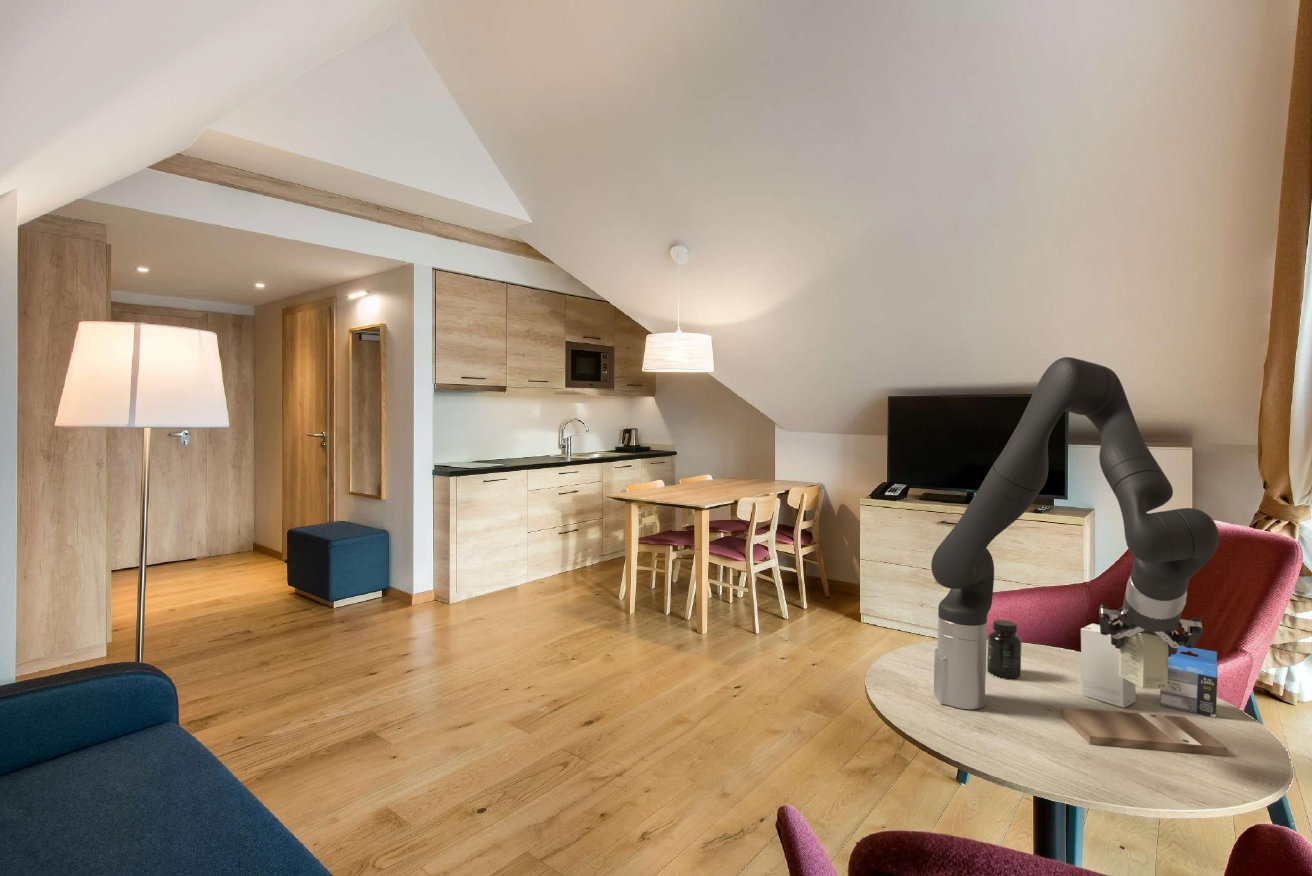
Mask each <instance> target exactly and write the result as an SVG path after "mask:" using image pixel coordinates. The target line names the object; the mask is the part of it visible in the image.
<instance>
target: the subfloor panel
mask: <svg viewBox="0 0 1312 876" xmlns="http://www.w3.org/2000/svg"><path fill="white" fill-rule="evenodd" d="M1060 716H1062V718H1063V719H1064V720H1065V721H1066V722H1067V723H1069V725H1070V726H1071V727H1072V728H1073V730H1075V731H1076V732H1077V733H1078V734H1079V735H1080V736H1081V737H1082V738H1083V739H1084V740H1085V741H1086V743H1088V744H1089V745H1095V746H1108V747H1119V748H1131V749H1140V750H1142V749H1143V750H1153V751H1165V752H1175V753H1176V752H1177V753H1187V754H1199V755H1200V754H1201V755H1209V754H1212V755H1211V756H1220V755H1227V756H1228V747H1227V746H1226V745H1224V744H1223V743H1222V742H1220V741H1218V739H1216V738H1215V737H1213V736H1212V735H1210V734H1209V733H1208V732H1206V731H1205V730H1203V729H1202V728H1201V727H1200V726H1198V725H1196V724H1195V723H1194V722H1193V721H1192V720H1190V719H1188V718H1187V717H1185V716H1178V715H1167V714H1166V715H1165V714H1160V713H1146V712H1130V711H1129V712H1128V711H1117V710H1116V711H1113V710H1101V709H1093V708H1092V709H1090V708H1089V709H1088V708H1080V707H1079V708H1077V707H1076V708H1075V707H1067V706H1066V707H1063V706H1060Z"/></svg>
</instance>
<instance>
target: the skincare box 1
mask: <svg viewBox="0 0 1312 876" xmlns="http://www.w3.org/2000/svg"><path fill="white" fill-rule="evenodd" d="M1080 650H1081V651H1080V654H1081V657H1080V658H1081V659H1080V660H1081V662H1080V663H1081V695H1082V696H1084V697H1087V698H1091V699H1094V700H1097V701H1099V702H1104V703H1106V704H1110V705H1113V706H1117V707H1120V708H1126V707H1128V706H1131V705H1132V704H1135V702H1136V699H1137V698H1136V694H1137V693H1136V692H1137V691H1136V689H1137V688H1136V685H1135V684H1134V683H1132V682H1130V681H1128V680H1126V679H1124V678H1123V677H1121V676H1119V655H1120V649H1118V648H1115V645H1112V644H1111V635H1110V634H1109V635H1102V634H1101V633H1100V624H1096V623H1090V624H1088V625H1086V626H1084V627H1082V628H1080Z"/></svg>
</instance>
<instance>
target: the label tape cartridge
mask: <svg viewBox="0 0 1312 876" xmlns="http://www.w3.org/2000/svg"><path fill="white" fill-rule="evenodd" d="M1181 652H1183V653H1181ZM1188 652H1190V653H1191V654H1193V655H1194V654H1195V655H1198V656H1193V655H1187V654H1184V653H1188ZM1159 690H1160V693H1159V695H1160V697H1159V699H1160V702H1159V703H1160V706H1163V707H1167V708H1171V709H1172V708H1173V709H1175V710H1176V709H1177V710H1181V711H1185V712H1190V713H1194V714H1198V715H1203V716H1206V715H1207V716H1206V717H1210V716H1211V718H1214V717H1216V718H1217V701H1218V700H1217V699H1218V652H1217V651H1214V650H1208V649H1201V648H1196V647H1194V648H1186V647H1185V646H1180V647H1179V648H1178V650H1177V653H1176V654H1175V655H1172V654H1171V657H1168V687H1167V689H1159Z"/></svg>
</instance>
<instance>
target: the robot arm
mask: <svg viewBox="0 0 1312 876" xmlns="http://www.w3.org/2000/svg"><path fill="white" fill-rule="evenodd" d="M1131 408H1132V407H1131V406H1130V403H1129V401H1128V398H1127V394H1126V392H1125V389H1124V387H1123V384H1122V382H1121V380H1120V378H1119V377H1118V375H1117V374H1116V372H1115V371H1114V370H1112V369H1111V368H1109V367H1107V366H1104V365H1101V364H1097V363H1094V362H1091V361H1086V360H1083V359H1079V358H1075V357H1069V356H1065V357H1064V356H1063V357H1061V358H1059V359H1057V360H1055V361H1054V362H1052V363H1051V364H1050V365H1049V366H1048V368H1046V370H1045V371H1044V372H1043V374H1042V375H1041V378H1040V379H1039V380H1038V383H1037V385H1036V387H1035V389H1034V391H1033V393H1032V395H1031V397H1030V399H1029V401H1028V404H1027V406H1026V408H1025V410H1024V412H1023V414H1022V416H1021V418H1020V419H1019V421H1018V424H1017V425H1016V427H1015V429H1014V430H1013V433H1012V434H1011V436H1010V437H1009V439H1008V441H1007V443H1006V445H1005V446H1004V448H1003V450H1002V451H1001V453H1000V454H999V456H998V457H997V459H996V460H995V461H994V463H993V464H992V466H991V468H990V469H989V470H988V472H987V474H986V476H985V477H984V479H983V481H982V483H981V484H980V486H979V488H978V490H977V491H976V493H975V494H974V495H973V497H972V498H971V499H972V500H971V501H970V503H969V504H968V505H967V507H966V509H965V511H964V512H963V514H962V515H961V517H960V518H959V520H958V521H957V523H956V524H955V525H954V526H953V528H952V529H951V531H949V533H948V535H947V536H946V537H945V538H944V539H943V540H942V542H941V543H940V544H939V545H938V546H937V548H936V549H935V551H934V553H933V556H932V559H931V563H930V564H931V565H930V567H931V573H932V575H933V578H934V580H935V581H936V583H937V584H938V585H940V586H942V587H945V588H948V589H950V590H949V591H948V593H947V594H946V596H945V597H944V598H943V599H942V600H940V602H939V604H938V612H937V613H938V614H937V617H938V618H937V620H938V621H937V648H935V649H934V666H933V667H934V669H933V671H934V672H933V693H934V695H935V696H936V699H937V700H938V702H939V704H940V705H947V706H950V707H952V708H953V707H954V708H958V709H963V710H979V709H982V708H983V707H984V706H985V705H986V683H987V682H986V679H987V677H986V676H987V675H986V674H987V644H988V632H987V631H988V615H989V612H990V610H991V608H992V606H993V597H994V595H993V594H994V583H995V582H994V580H995V565H994V560H993V556H992V553H991V552H990V550H989V549H988V548H987V547H988V546H989V545H990V543H991V542H992V541H993V540H994V539H995V538H996V537H997V536H998V535H1000V534H1001V533H1003V532H1004V531H1005V530H1006V529H1007V528H1009V527H1010V526H1011V525H1012V524H1013V523H1014V522H1016V521H1017V520H1018V519H1019V518H1020V517H1021V516H1022V515H1023V514H1025V512H1026V511H1027V510H1028V509H1029V508H1030V506H1031V505H1032V504H1033V503H1034V501H1035V500H1036V498H1037V497H1038V495H1039V494H1040V493H1041V491H1042V489H1043V488H1044V486H1045V485H1046V482H1047V480H1048V476H1049V452H1048V451H1049V446H1048V444H1049V440H1050V436H1051V434H1052V432H1053V429H1054V428H1055V426H1056V424H1057V422H1058V421H1059V420H1060V417H1061V416H1062V415H1063V414H1064V413H1065V412H1067V413H1071V414H1075V415H1079V416H1085V417H1086V418H1087V419H1088V420H1089V421H1090V422H1091V423H1092V424H1093V425H1094V426H1095V428H1096V429H1097V430H1098V433H1099V434H1100V438H1101V443H1100V449H1099V457H1098V458H1099V460H1098V461H1099V465H1100V468H1101V471H1102V474H1103V476H1104V477H1105V479H1106V481H1107V483H1108V485H1109V487H1110V489H1111V490H1112V492H1113V494H1114V496H1115V497H1116V500H1117V502H1118V506H1119V509H1120V512H1121V516H1122V521H1123V529H1124V538H1125V543H1126V546H1127V548H1128V551H1129V552H1130V553H1131V554H1132V556H1134V559H1133V562H1132V563H1133V564H1132V568H1131V573H1130V575H1129V576H1128V580H1127V584H1126V589H1125V591H1124V597H1123V603H1122V606H1121V607H1119V608H1118V609H1109V606H1108V605H1105V604H1100V605H1098V606H1099V610H1098V611H1099V625H1100V633H1101V634H1102V635H1109V634H1110V635H1111V644H1112V645H1115V648H1118V649H1120V648H1121V643H1122V637H1124V636H1127V637H1130V636H1132V635H1134V634H1136V633H1145V634H1151V635H1155V636H1160V637H1161V639H1162V640H1163V641H1164V642H1165V643H1168V657H1171V654H1172V655H1175V654H1176V653H1177V650H1178V648H1179V647H1180V646H1185V647H1186V648H1195V647H1196V645H1197V643H1198V642H1199V640H1200V638H1201V636H1202V635H1203V632H1204V631H1203V625H1202V624H1203V623H1202V619H1201V618H1200V617H1191V619H1189V620H1188V619H1182V615H1183V611H1184V608H1185V607H1186V605H1187V597H1188V586H1189V584H1190V581H1191V578H1192V577H1193V576H1195V575H1196V574H1197V572H1199V571H1200V570H1201V569H1202V568H1203V567H1204V566H1205V565H1206V564H1207V563H1208V562H1209V561H1210V559H1211V558H1212V557H1213V556H1214V555H1215V553H1216V551H1217V549H1218V545H1219V540H1220V538H1219V537H1220V535H1219V529H1218V525H1217V524H1216V522H1215V521H1214V519H1213V518H1212V517H1211V515H1210V514H1208V513H1206V512H1204V511H1202V510H1201V509H1197V508H1191V507H1182V508H1176V509H1170V510H1164V511H1157V512H1151V513H1150V511H1153V510H1156V509H1157V508H1160V507H1161V506H1164V505H1165V504H1166V503H1168V502H1170V500H1171V499H1172V497H1173V494H1174V488H1173V486H1172V484H1171V482H1170V480H1169V479H1168V477H1167V476H1166V474H1165V473H1164V471H1163V470H1162V468H1161V467H1160V464H1159V463H1158V461H1157V460H1156V459H1155V457H1154V456H1153V453H1151V451H1150V449H1149V447H1148V446H1147V444H1146V442H1145V441H1144V438H1143V437H1142V434H1141V431H1140V429H1139V427H1138V424H1137V422H1136V419H1135V416H1134V414H1133V411H1132V409H1131ZM1114 619H1118V620H1117V621H1114ZM1113 621H1114V622H1113ZM1112 622H1113V623H1112ZM1181 628H1183V629H1184V630H1183V634H1182V633H1178V631H1179V630H1180V629H1181Z"/></svg>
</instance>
